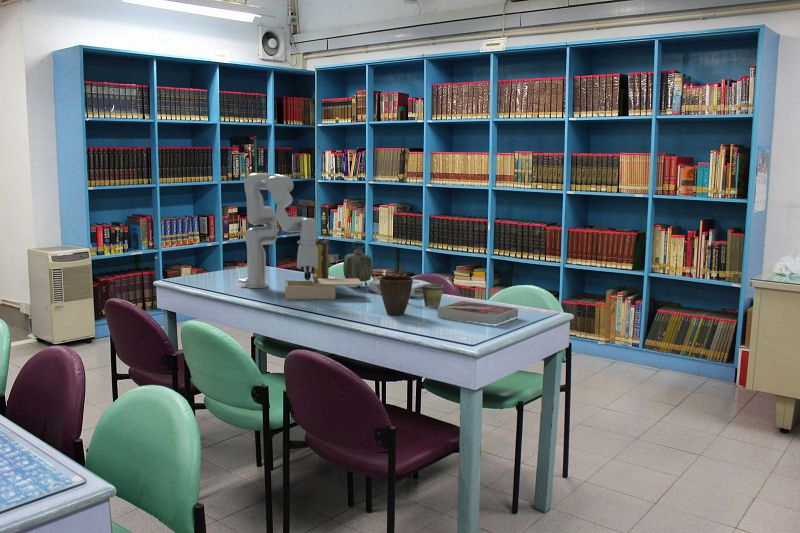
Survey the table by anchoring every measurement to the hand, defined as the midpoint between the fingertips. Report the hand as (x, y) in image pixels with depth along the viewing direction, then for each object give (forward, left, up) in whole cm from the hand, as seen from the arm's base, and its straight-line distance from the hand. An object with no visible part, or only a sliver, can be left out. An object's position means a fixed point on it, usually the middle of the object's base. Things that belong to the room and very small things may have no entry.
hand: (307, 280), depth 352 cm
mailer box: (+1, 0, -8) cm, 8 cm away
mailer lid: (+14, 0, -1) cm, 14 cm away
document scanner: (+49, +10, -9) cm, 51 cm away
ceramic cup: (+58, -27, -8) cm, 65 cm away
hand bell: (+44, -15, -8) cm, 47 cm away
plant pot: (+37, -45, -8) cm, 59 cm away
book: (+8, +30, -8) cm, 32 cm away
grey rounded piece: (+28, +28, -8) cm, 41 cm away
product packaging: (+72, -55, -9) cm, 91 cm away
